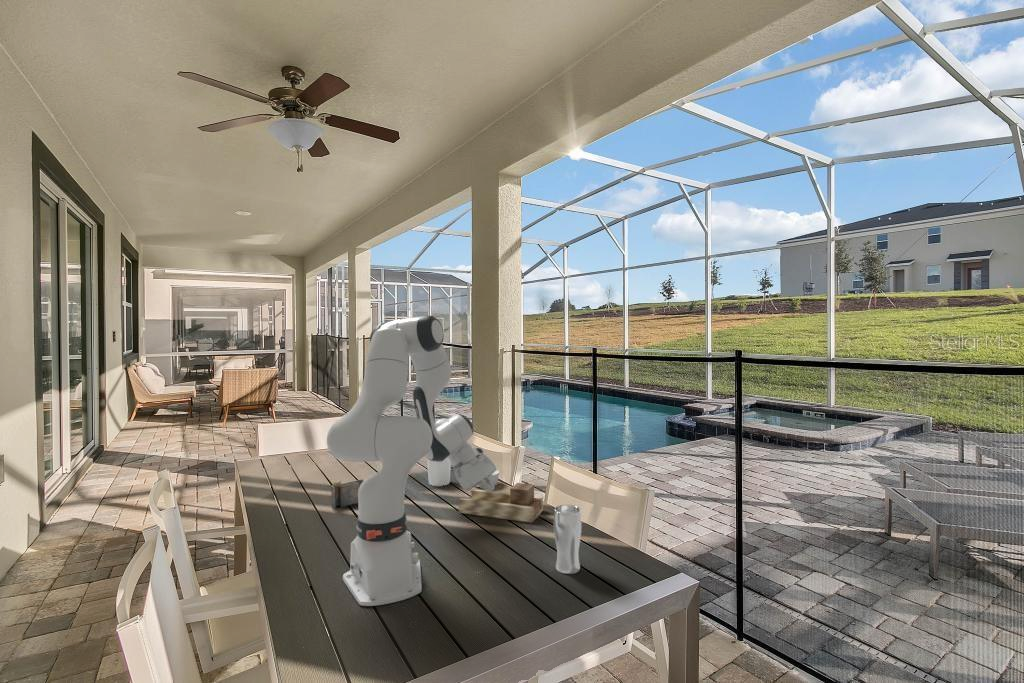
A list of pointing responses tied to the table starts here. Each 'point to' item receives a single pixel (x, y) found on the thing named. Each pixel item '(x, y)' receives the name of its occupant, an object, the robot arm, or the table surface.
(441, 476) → the candle holder
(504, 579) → the table surface
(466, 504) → the pine chute
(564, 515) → the beer glass
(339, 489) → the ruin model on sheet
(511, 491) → the walnut block
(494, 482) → the ramekin
